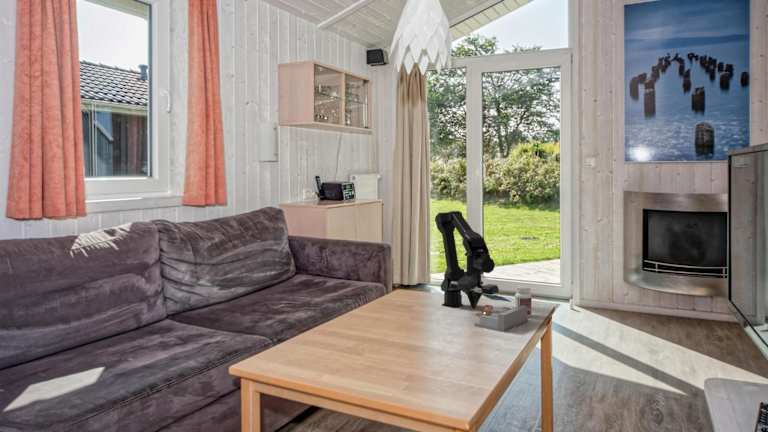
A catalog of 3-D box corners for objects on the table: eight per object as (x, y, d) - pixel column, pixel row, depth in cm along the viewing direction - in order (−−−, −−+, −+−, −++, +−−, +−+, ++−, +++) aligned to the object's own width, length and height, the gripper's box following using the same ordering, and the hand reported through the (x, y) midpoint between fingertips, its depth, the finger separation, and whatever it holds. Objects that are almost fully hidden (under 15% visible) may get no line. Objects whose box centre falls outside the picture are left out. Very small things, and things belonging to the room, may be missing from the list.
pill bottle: (534, 315, 216) (534, 287, 215) (525, 318, 212) (526, 289, 211) (520, 313, 221) (521, 284, 220) (511, 315, 216) (512, 286, 215)
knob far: (482, 315, 211) (482, 305, 211) (489, 313, 215) (489, 303, 215) (501, 319, 206) (501, 309, 206) (508, 316, 210) (508, 306, 209)
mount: (474, 325, 202) (474, 309, 202) (498, 316, 215) (498, 301, 215) (503, 332, 194) (504, 315, 194) (527, 322, 207) (527, 306, 207)
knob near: (480, 321, 203) (480, 311, 202) (487, 319, 206) (488, 309, 206) (500, 325, 197) (500, 315, 197) (507, 323, 201) (507, 312, 201)
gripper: (441, 268, 216) (441, 308, 217) (483, 274, 203) (483, 316, 205) (458, 265, 224) (457, 303, 225) (499, 270, 212) (498, 311, 213)
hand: (473, 308), depth 217 cm, fingers closed
